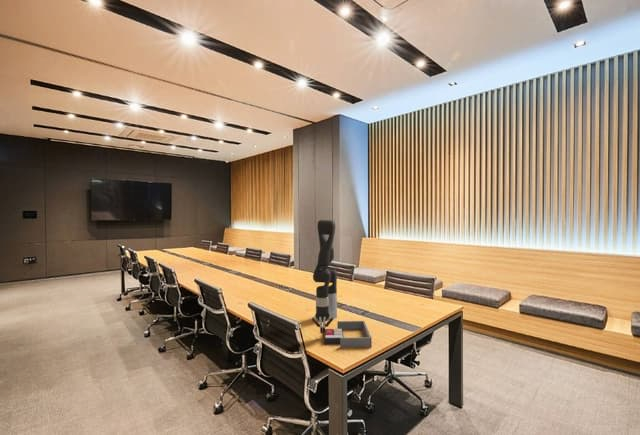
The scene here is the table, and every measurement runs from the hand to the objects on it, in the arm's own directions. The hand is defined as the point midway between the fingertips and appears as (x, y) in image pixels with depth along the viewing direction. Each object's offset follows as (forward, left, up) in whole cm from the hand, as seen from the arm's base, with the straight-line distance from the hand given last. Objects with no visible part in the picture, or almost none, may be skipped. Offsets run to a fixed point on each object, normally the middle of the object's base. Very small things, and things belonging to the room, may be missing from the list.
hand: (322, 333), depth 176 cm
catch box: (0, +18, -2) cm, 18 cm away
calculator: (+1, +7, -3) cm, 7 cm away
